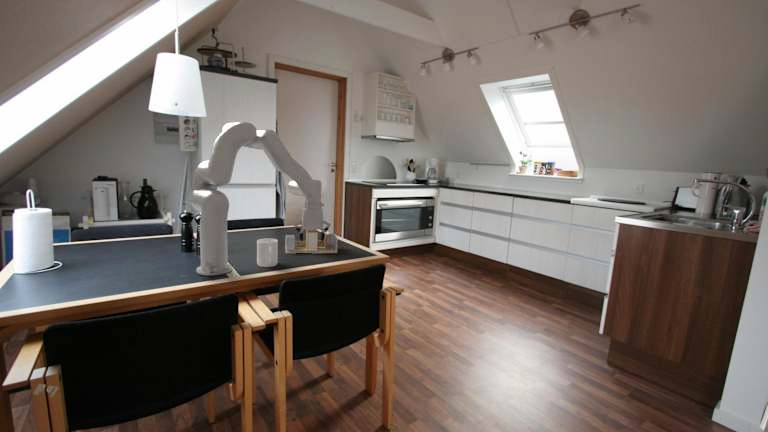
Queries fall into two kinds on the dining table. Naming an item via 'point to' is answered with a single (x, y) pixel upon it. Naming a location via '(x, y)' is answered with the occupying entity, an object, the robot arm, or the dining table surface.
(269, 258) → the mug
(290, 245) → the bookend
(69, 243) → the dining table surface
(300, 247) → the rack
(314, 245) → the book
